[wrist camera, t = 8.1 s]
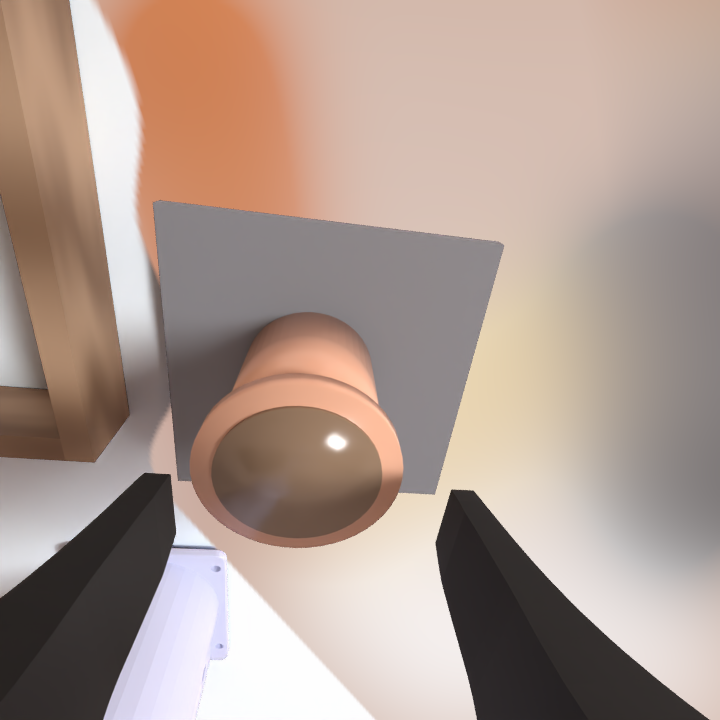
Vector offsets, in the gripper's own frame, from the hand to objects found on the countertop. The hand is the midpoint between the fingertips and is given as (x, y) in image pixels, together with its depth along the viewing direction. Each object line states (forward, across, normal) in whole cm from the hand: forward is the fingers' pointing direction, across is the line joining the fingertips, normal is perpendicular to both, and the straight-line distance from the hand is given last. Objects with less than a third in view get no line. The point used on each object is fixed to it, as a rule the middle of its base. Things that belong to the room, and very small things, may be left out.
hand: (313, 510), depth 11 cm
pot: (+7, 0, 0) cm, 7 cm away
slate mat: (+8, 0, 0) cm, 8 cm away
